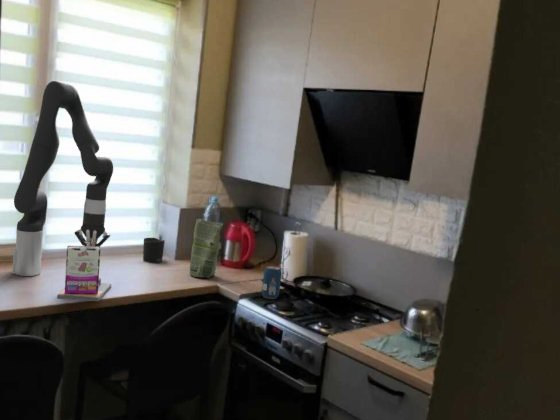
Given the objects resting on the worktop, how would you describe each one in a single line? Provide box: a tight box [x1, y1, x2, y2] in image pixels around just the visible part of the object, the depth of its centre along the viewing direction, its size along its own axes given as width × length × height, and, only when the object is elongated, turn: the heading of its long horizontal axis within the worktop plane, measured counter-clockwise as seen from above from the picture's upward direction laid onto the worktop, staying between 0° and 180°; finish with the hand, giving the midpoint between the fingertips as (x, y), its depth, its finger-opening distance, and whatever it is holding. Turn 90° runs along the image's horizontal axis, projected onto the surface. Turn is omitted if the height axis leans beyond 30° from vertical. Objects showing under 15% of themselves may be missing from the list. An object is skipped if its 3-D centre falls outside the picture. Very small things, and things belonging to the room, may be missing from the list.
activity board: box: [56, 277, 112, 302], centre depth 205 cm, size 14×19×3 cm
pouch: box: [189, 218, 224, 279], centre depth 244 cm, size 11×12×25 cm
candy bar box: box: [64, 245, 101, 294], centre depth 199 cm, size 11×5×16 cm, turn 109°
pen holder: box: [142, 237, 165, 264], centre depth 263 cm, size 9×9×10 cm
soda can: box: [261, 265, 282, 300], centre depth 224 cm, size 7×7×12 cm
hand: (90, 257), depth 209 cm, fingers closed
